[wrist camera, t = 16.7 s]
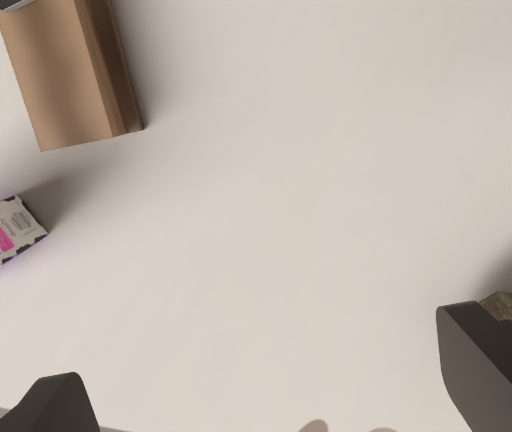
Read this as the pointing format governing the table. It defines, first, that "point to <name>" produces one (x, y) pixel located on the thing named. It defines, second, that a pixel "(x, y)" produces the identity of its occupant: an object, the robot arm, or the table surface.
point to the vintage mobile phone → (13, 4)
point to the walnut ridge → (71, 71)
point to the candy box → (17, 229)
